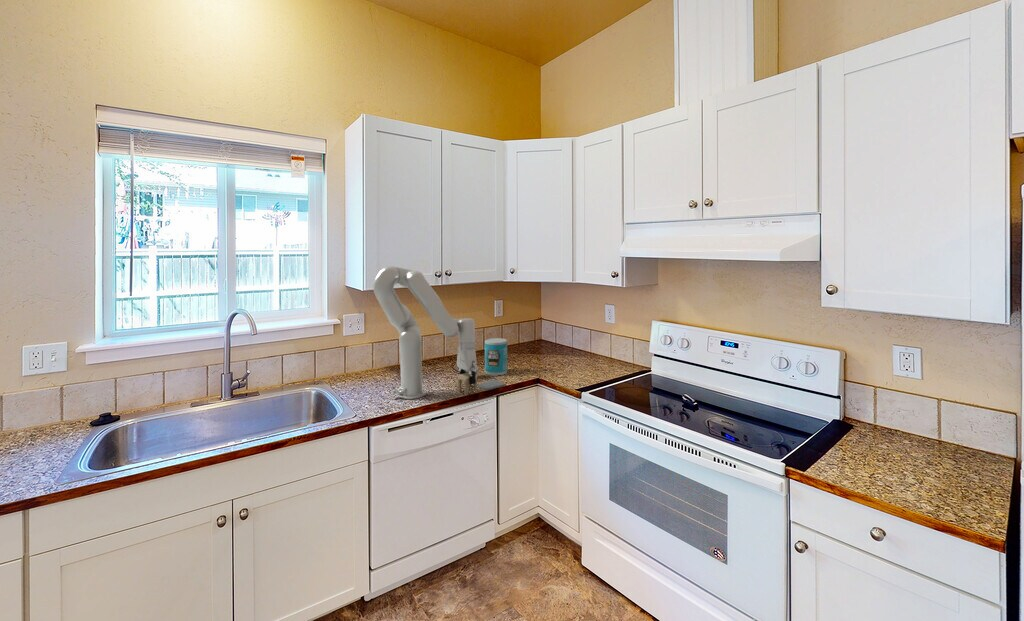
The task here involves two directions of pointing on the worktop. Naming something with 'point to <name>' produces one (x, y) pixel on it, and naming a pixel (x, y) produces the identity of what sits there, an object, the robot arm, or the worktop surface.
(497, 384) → the mat
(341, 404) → the worktop surface
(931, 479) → the worktop surface
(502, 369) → the food can
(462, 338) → the robot arm
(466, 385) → the wooden u-shaped block
